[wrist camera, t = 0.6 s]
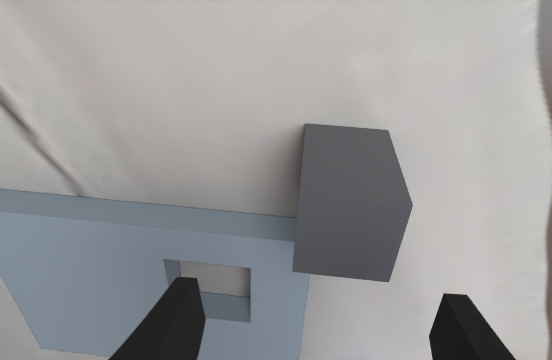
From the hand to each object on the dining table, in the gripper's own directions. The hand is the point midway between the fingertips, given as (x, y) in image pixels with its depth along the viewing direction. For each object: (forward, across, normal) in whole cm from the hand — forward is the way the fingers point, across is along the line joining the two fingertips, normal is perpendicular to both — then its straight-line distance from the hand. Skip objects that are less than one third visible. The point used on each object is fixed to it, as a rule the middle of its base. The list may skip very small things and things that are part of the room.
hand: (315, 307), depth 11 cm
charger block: (+10, -1, +1) cm, 10 cm away
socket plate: (+9, +10, +11) cm, 18 cm away
